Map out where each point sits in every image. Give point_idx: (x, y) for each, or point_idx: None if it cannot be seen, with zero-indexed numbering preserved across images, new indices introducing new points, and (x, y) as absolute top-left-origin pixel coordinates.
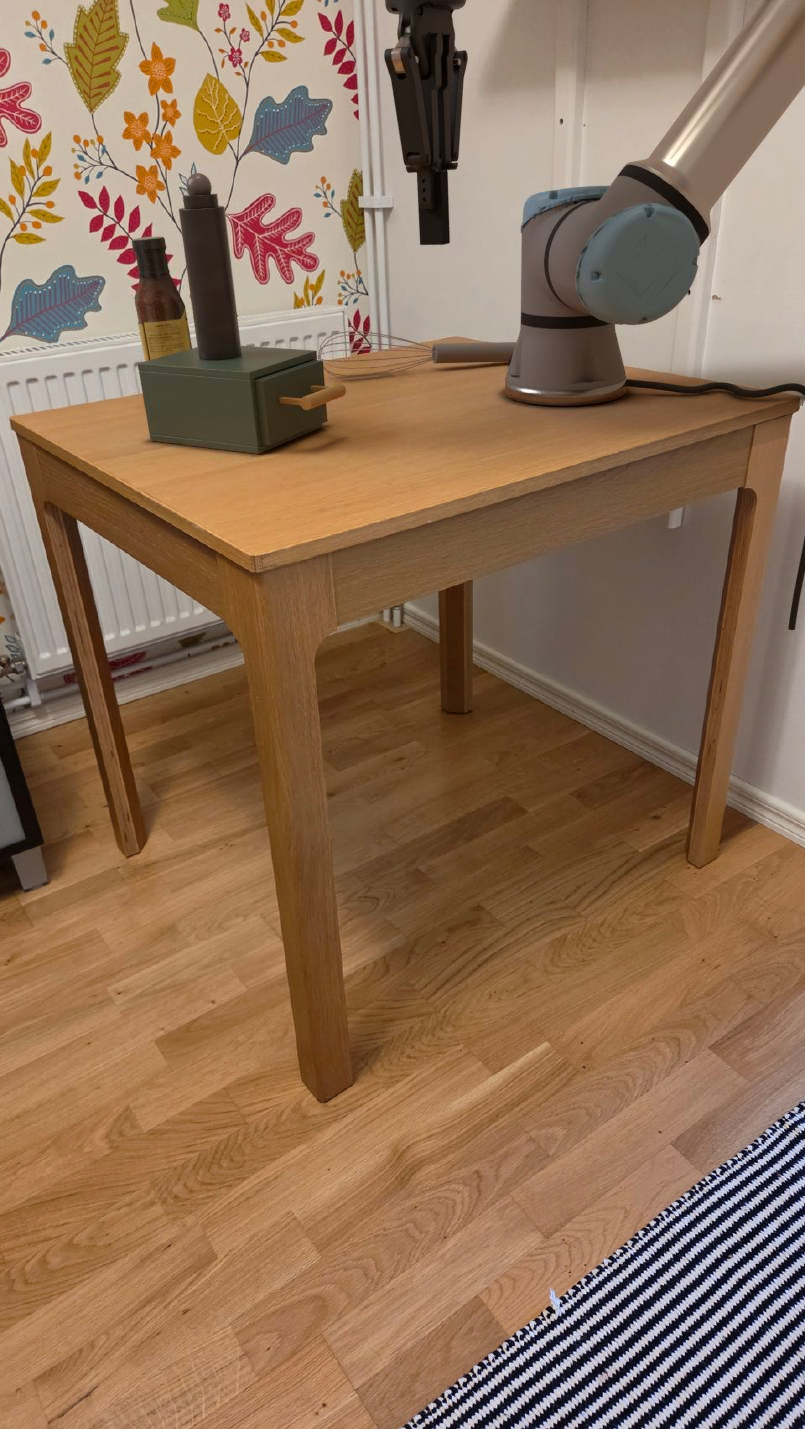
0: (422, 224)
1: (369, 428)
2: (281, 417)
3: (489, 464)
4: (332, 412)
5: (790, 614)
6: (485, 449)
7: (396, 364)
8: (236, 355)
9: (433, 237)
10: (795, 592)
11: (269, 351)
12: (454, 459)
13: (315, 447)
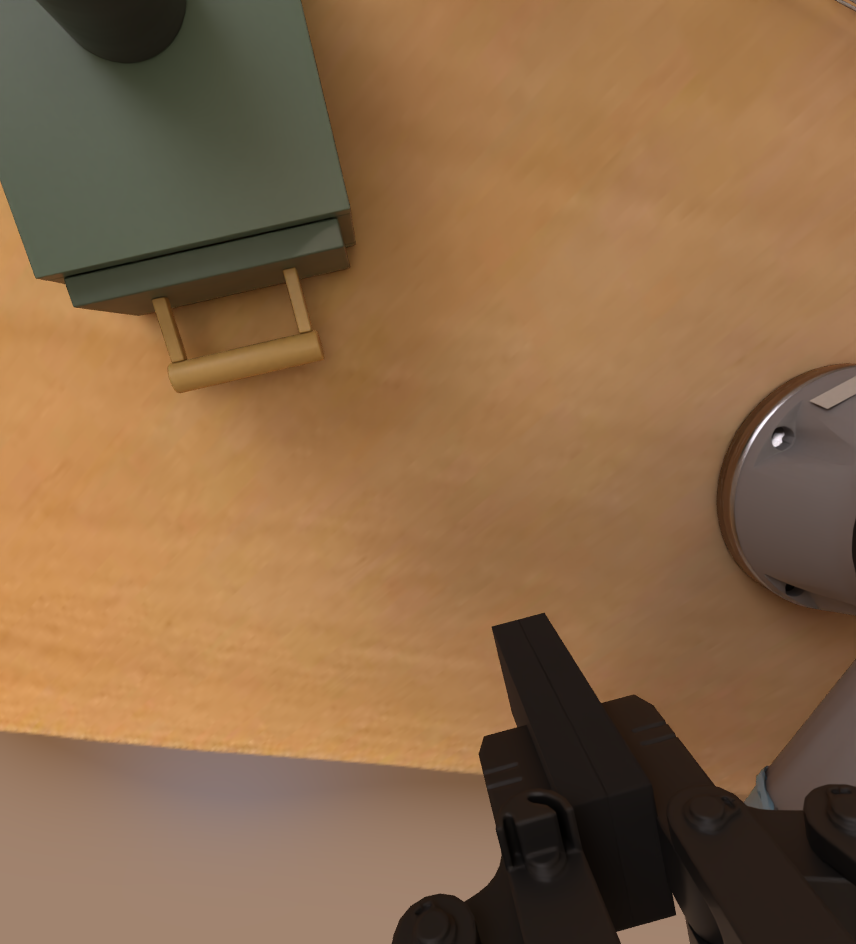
0: (509, 677)
1: (407, 340)
2: (170, 301)
3: (350, 675)
4: (464, 159)
5: None
6: (416, 616)
7: (851, 7)
8: (134, 60)
9: (509, 692)
10: None
11: (263, 78)
12: (338, 615)
13: None
